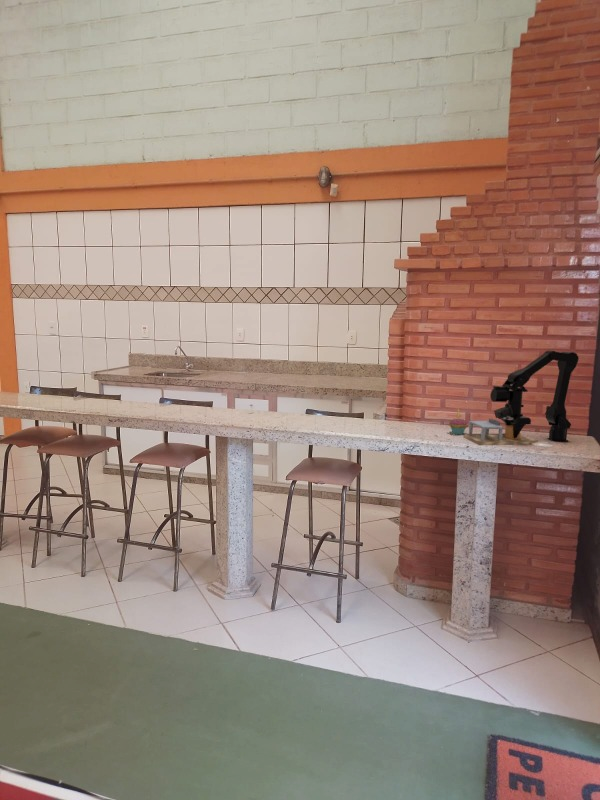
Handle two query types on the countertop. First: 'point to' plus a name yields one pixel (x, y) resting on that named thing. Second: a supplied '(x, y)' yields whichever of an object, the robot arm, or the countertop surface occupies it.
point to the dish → (543, 444)
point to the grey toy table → (486, 427)
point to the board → (493, 440)
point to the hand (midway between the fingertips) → (512, 436)
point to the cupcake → (458, 425)
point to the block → (510, 432)
